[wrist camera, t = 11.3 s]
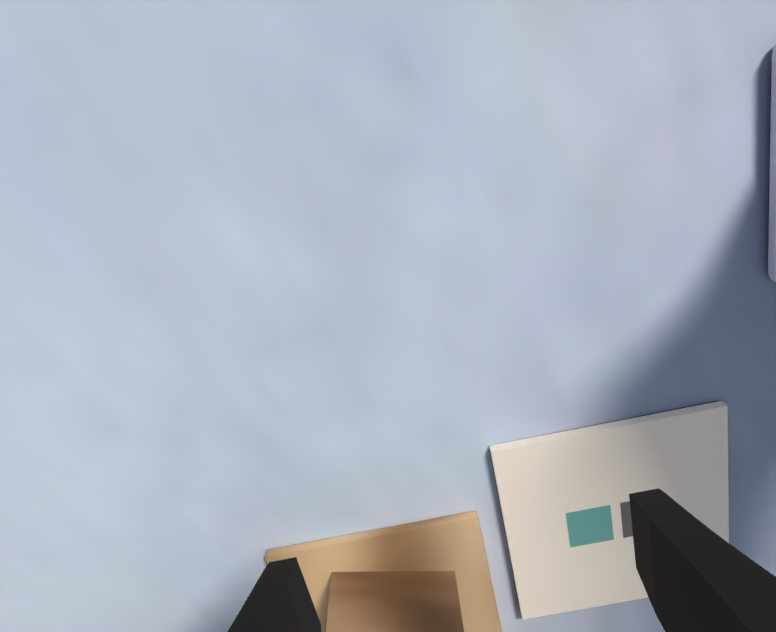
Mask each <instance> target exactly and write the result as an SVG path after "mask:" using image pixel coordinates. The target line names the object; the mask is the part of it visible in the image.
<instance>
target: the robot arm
mask: <svg viewBox="0 0 776 632" xmlns="http://www.w3.org/2000/svg"><path fill="white" fill-rule="evenodd" d="M768 274H769V278H770V279H771V280H772V281H774V282H775V283H776V45H775V47H774V49H773V53H772V74H771V132H770V190H769V248H768ZM629 499H630V509H631V520H632V530H633V541H634V551H635V562H636V569H637V571H638V574H639V576H640V578H641V581H642V583H643V585H644V588H645V590H646V592H647V595H648V597H649V599H650V601H651V604H652V606H653V608H654V610H655V613H656V615H657V617H658V619H659V621H660V622H661V624H662V626H663V628H664V630H665V631H666V632H776V577H775V576H774V575H772V574H771V573H769V572H768V571H767V570H765V569H764V568H762V567H761V566H759V565H758V564H757V563H755V562H754V561H752V560H751V559H750V558H748V557H747V556H746V555H744V554H743V553H741V552H740V551H739V550H737V549H736V548H735V547H733V546H732V545H731V544H729V543H728V542H726V541H725V540H724V539H723V538H721V537H720V536H719V535H717V534H716V533H715V532H713V531H712V530H711V529H710V528H708V527H707V526H706V525H704V524H703V523H702V522H701V521H699V520H698V519H697V518H696V517H694V516H693V515H692V514H691V513H689V512H688V511H687V510H686V509H684V508H683V507H682V506H681V505H679V504H678V503H677V502H676V501H675V500H673V499H672V498H671V497H670V496H668V495H667V494H666V493H665V492H663V491H662V490H660V489H659V488H657V489H652V490H647V491H642V492H636V493H631V494H629ZM228 632H321V623H320V620H319V617H318V615H317V612H316V609H315V607H314V604H313V601H312V599H311V596H310V593H309V590H308V588H307V585H306V582H305V580H304V577H303V574H302V572H301V569H300V566H299V564H298V561H297V558H296V557H294V558H289V559H283V560H278V561H273V562H269V563H268V565H267V566H266V568H265V569H264V571H263V573H262V574H261V576H260V578H259V580H258V581H257V583H256V585H255V586H254V588H253V590H252V592H251V593H250V595H249V597H248V598H247V600H246V602H245V604H244V605H243V607H242V609H241V610H240V612H239V614H238V615H237V617H236V619H235V620H234V622H233V624H232V625H231V627H230V628H229V630H228Z"/></svg>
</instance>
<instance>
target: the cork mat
mask: <svg viewBox="0 0 776 632" xmlns="http://www.w3.org/2000/svg"><path fill="white" fill-rule="evenodd" d="M294 557H296V558H297V561H298V564H299V566H300V569H301V572H302V574H303V577H304V580H305V582H306V585H307V588H308V590H309V593H310V596H311V599H312V601H313V604H314V607H315V609H316V612H317V615H318V617H319V620H320V623H321V632H326V625H327V615H328V604H329V594H330V584H331V573H332V572H382V571H455V576H456V582H457V589H458V595H459V602H460V608H461V615H462V621H463V628H464V632H502V630H501V625H500V620H499V616H498V611H497V606H496V601H495V596H494V591H493V587H492V582H491V577H490V572H489V567H488V563H487V558H486V553H485V548H484V543H483V538H482V534H481V529H480V524H479V519H478V515H477V511H473V512H468V513H462V514H457V515H452V516H446V517H441V518H436V519H430V520H425V521H420V522H414V523H409V524H404V525H398V526H393V527H388V528H382V529H377V530H372V531H366V532H361V533H356V534H350V535H345V536H340V537H334V538H329V539H324V540H318V541H313V542H308V543H302V544H297V545H292V546H286V547H281V548H276V549H270V550H266V554H265V559H266V562H267V564H268V563H269V562H273V561H278V560H283V559H289V558H294Z"/></svg>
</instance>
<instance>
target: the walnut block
mask: <svg viewBox="0 0 776 632" xmlns="http://www.w3.org/2000/svg"><path fill="white" fill-rule="evenodd" d="M326 632H464V628H463V621H462V615H461V608H460V602H459V595H458V589H457V582H456V576H455V571H382V572H332V573H331V584H330V594H329V604H328V615H327V625H326Z"/></svg>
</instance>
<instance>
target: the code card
mask: <svg viewBox="0 0 776 632" xmlns="http://www.w3.org/2000/svg"><path fill="white" fill-rule="evenodd" d="M489 447H490V452H491V458H492V463H493V468H494V474H495V479H496V484H497V490H498V495H499V500H500V506H501V511H502V516H503V521H504V527H505V532H506V537H507V543H508V548H509V553H510V559H511V564H512V569H513V575H514V580H515V585H516V591H517V596H518V601H519V606H520V612H521V616H522V619H529V618H535V617H540V616H546V615H552V614H558V613H563V612H569V611H575V610H581V609H586V608H592V607H598V606H604V605H609V604H615V603H621V602H627V601H632V600H638V599H644V598H649V597H648V595H647V592H646V590H645V588H644V585H643V583H642V581H641V578H640V576H639V574H638V571H637V569H636V562H635V551H634V541H633V530H632V520H631V509H630V499H629V494H631V493H636V492H642V491H647V490H652V489H657V488H659V489H660V490H662V491H663V492H665V493H666V494H667V495H668V496H670V497H671V498H672V499H673V500H675V501H676V502H677V503H678V504H679V505H681V506H682V507H683V508H684V509H686V510H687V511H688V512H689V513H691V514H692V515H693V516H694V517H696V518H697V519H698V520H699V521H701V522H702V523H703V524H704V525H706V526H707V527H708V528H710V529H711V530H712V531H713V532H715V533H716V534H717V535H719V536H720V537H721V538H723V539H724V540H725V541H726V542H728V543H729V484H728V406H727V405H726V404H725V403H724V402H723V401H718V402H713V403H707V404H702V405H697V406H692V407H687V408H682V409H677V410H672V411H666V412H661V413H656V414H651V415H646V416H641V417H636V418H630V419H625V420H620V421H615V422H610V423H605V424H600V425H595V426H589V427H584V428H579V429H574V430H569V431H564V432H559V433H553V434H548V435H543V436H538V437H533V438H528V439H523V440H518V441H512V442H507V443H502V444H497V445H492V446H489Z"/></svg>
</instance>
